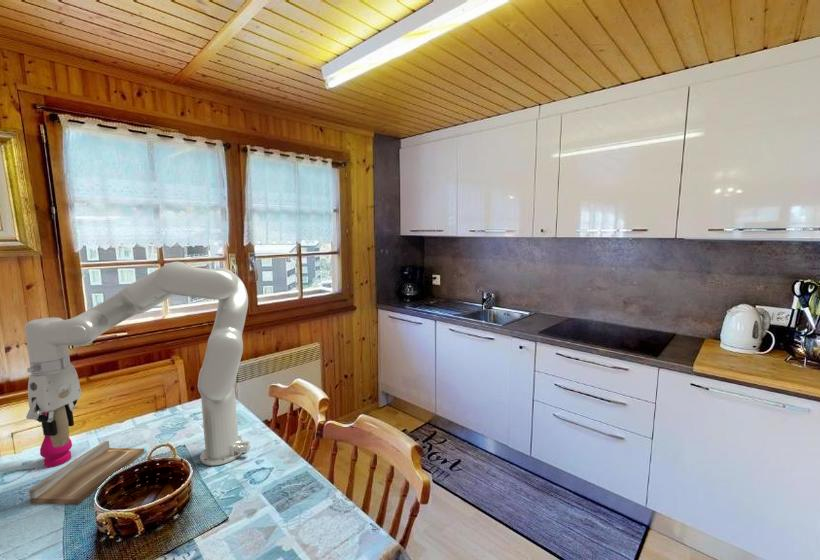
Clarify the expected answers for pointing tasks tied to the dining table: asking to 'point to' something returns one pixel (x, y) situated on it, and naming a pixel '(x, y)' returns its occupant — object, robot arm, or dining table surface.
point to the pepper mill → (54, 452)
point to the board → (83, 475)
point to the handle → (61, 424)
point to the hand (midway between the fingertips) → (59, 429)
